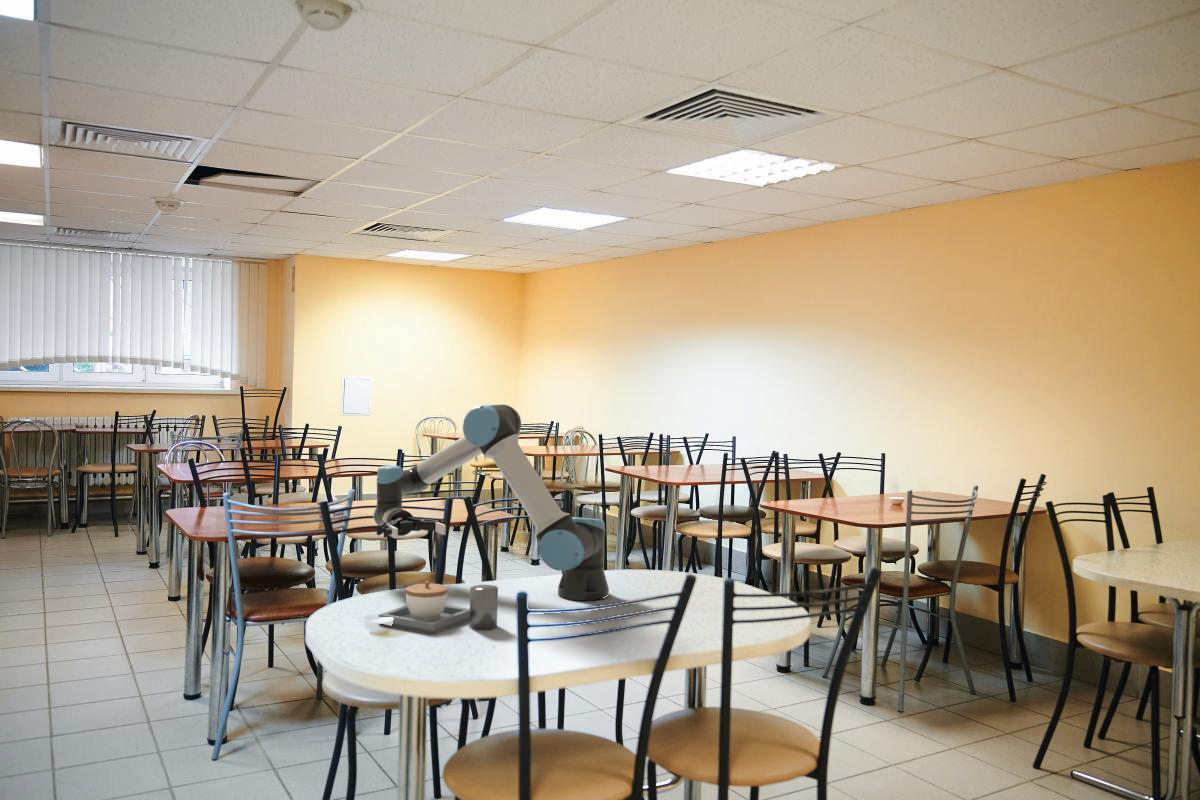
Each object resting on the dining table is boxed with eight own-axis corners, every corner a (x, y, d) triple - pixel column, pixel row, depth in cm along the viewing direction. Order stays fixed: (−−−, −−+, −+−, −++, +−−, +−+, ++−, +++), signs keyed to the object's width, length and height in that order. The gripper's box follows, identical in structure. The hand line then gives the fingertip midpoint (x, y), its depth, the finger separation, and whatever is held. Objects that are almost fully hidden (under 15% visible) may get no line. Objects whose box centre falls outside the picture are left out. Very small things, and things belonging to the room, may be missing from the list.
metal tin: (502, 625, 226) (503, 587, 226) (486, 632, 220) (487, 592, 220) (479, 621, 229) (480, 583, 229) (463, 627, 223) (464, 588, 223)
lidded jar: (451, 613, 233) (452, 578, 233) (440, 624, 222) (441, 587, 222) (412, 611, 234) (413, 576, 234) (399, 622, 223) (400, 585, 223)
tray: (472, 618, 232) (472, 609, 232) (432, 634, 216) (432, 624, 216) (420, 609, 239) (420, 600, 239) (378, 624, 224) (378, 614, 224)
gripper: (438, 531, 267) (463, 541, 249) (356, 537, 255) (375, 549, 237) (438, 506, 267) (463, 515, 249) (356, 511, 255) (375, 521, 237)
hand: (420, 531), depth 243 cm, fingers open, 13 cm apart
